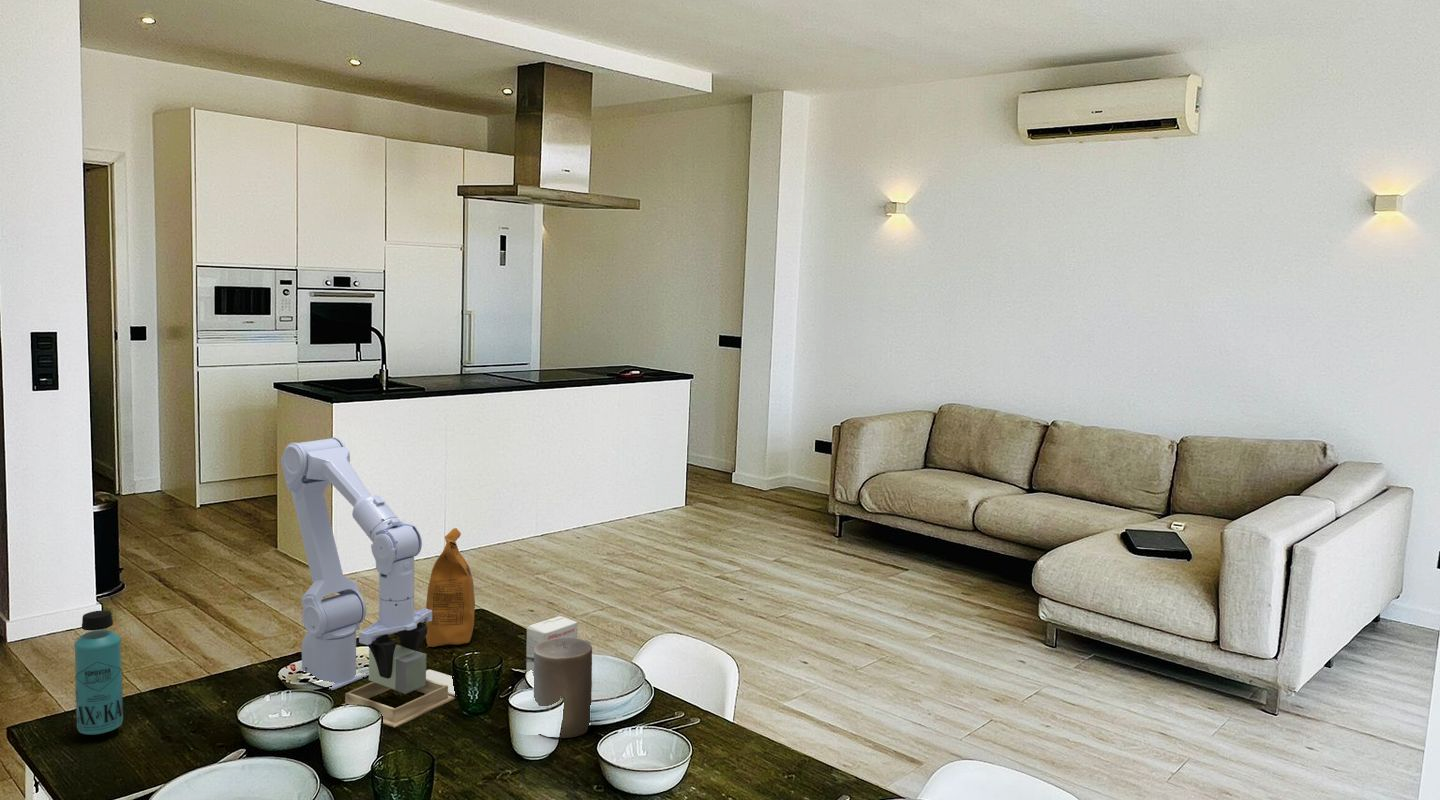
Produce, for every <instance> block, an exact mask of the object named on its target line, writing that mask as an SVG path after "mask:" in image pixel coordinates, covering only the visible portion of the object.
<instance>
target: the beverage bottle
mask: <svg viewBox="0 0 1440 800" xmlns="http://www.w3.org/2000/svg"><path fill="white" fill-rule="evenodd" d="M112 614H113V613H112V612H111V611H109V610H94V611H90V612H87V613H85V614H83V615H82V619H81V629H82V630H84V631H88V632H86V633H84V634H82V635H81V636H80V637H79V638H78V639H77V640H76V641H75V642H74V643H73V645H74V646H73V647H74V663H75V665H74V666H75V667H74V668H75V676H74V678H73V680H74V681H75V684H74V687H75V690H74V695H75V700H74V703H75V711H74V712H75V714H74V716H75V726H76V729H77V731H78V732H79V733H80V734H82V735H100V734H105V733H108V732H112V731H113V730H116V729H117V728H119V727H121V726H122V723H123V722H124V718H125V716H124V715H125V713H124V711H125V710H124V709H125V706H124V696H123V690H124V687H123V673H124V672H123V670H122V649H121V648H122V647H121V646H122V644H121V642H122V638H121V636H120V635H119V634H118V633H116V632H114V631H112V630H109V629H108V628H111V627H112V626H114V622H113V621H114V620H113V616H112Z"/></svg>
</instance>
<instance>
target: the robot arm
mask: <svg viewBox="0 0 1440 800" xmlns="http://www.w3.org/2000/svg"><path fill="white" fill-rule="evenodd" d="M350 454H351V452H350V449H348V447H347V446H346V444H345V443H344V442H343V440H342V439H341V438H339V437H335V436H333V437H330V438H326V439H325V438H324V439H317V440H311V441H310V440H309V441H302V442H290V443H288V444H287V445H286V447H285V448H284V451H283V454H282V456H281V458H280V464H281V467H282V472H283V476H284V481H285V484H286V488H287V491H289V492H290V493H291V497H292V501H293V506H294V510H295V513H296V519H297V522H298V526H299V531H300V534H301V536H300V537H301V538H302V543H303V548H304V553H305V556H306V560H307V564H308V568H309V573H310V577H311V582H312V584H311V585H310V586H309V588H308V589H307V590H306V592H305V593H304V594H303V596H302V597H301V604H302V617H301V618H302V623H303V626H304V629H305V630H306V633H305V635H304V636H303V639H302V642H301V671H302V670H303V671H305V672H307V673H310V674H312V675H313V676H315V677H316V678H317V679H319V680H323V681H329V682H334V683H335V684H333V685H331V686H332V687H329V689H328V690H330V689H331V690H330V691H334V690H338V689H339V688H342V687H345V686H346V685H349V684H352V683H354V682H357V681H359V680H362V679H364V678H366V677H367V676H368V673H367V674H365V675H361V676H356V677H355V675H356V670H357V630H359V631H358V643H360V644H362V645H366V646H367V647H368V649H369V650H371V652H372V654H373V656H374V658H375V661H376V664H377V667H378V671H379V675H380V676H381V677H384V678H387V679H388V678H391V675H392V661H393V655H394V650H395V647H396V645H398V642H397V641H395V640H391V637H389V636H390V635H393V634H396V633H398V637H399V642H400V646H402V647H405V648H408V649H411V650H414V651H418V652H419V650H420V647H421V645H422V643H423V640H424V639H425V638H426V634H427V627H426V625H423V623H426V622H430V621H432V610H428V609H426V608H421V609H418V610H415V557H417V556H418V555H419V554H420V552H421V550H422V547H423V540H422V536H421V533H420V531H419V530H418V528H417V526H416V525H415V524H412V523H408V522H406V521H405V520H401V519H400V518H399V517H398V516H397V515H396V514H395V512H394V510H392V509H391V507H390V506H389V505H388V504H387V502H386V500H384V498H383V497H382V496H380V495H377V494H374V495H371V493H370V491H369V490H368V489H367V487H366V486H365V484H364V482H363V481H362V480H361V478H360V477H359V475H358V474H357V472H356V471H355V469H354V468H353V466H352V464H351V463H350V462H351V455H350ZM330 484H331V485H332V486H333V487H334V488H335V489H336V490H337V491H338V492H339V493H340V494H341V495H342V497H344V498H345V500H346V501H348V503H349V504H350V505H352V506H351V507H353V509H352V512H351V513H352V518H353V520H354V521H356V523H357V524H358V526H359V527H360V528H361V530H362V531H363V532H364V533H365V534H366V536H367V537H368V538H369V540H370V541H371V542H372V543H371V544H370V548H371V553H372V555H373V557H374V560H375V569H376V571H377V573H378V578H379V579H378V581H379V582H378V584H379V586H378V587H379V588H378V589H379V592H378V595H379V597H378V600H379V602H378V605H379V609H378V612H379V614H378V616H379V620H377V621H375V622H374V623H372V624H371V625H370V626H368V627H366V628H365V629H363V630H360V627H361V625H360V624H361V623H363V622H364V621H365V619H366V615H367V604H366V601H365V598H364V596H362V594H361V592H360V589H359V586H358V583H357V582H356V581H354V580H352V579H350V578H349V577H347V576H345V575H344V574H343V569H342V564H341V562H340V557H339V553H338V549H337V544H336V540H335V539H336V538H335V536H334V531H333V527H332V523H331V519H330V515H329V511H328V510H329V509H328V507H327V503H326V499H325V491H326V489H327V488H328V486H329V485H330ZM333 594H337V595H333ZM329 595H332V596H329ZM326 596H329V597H327V598H324V597H326ZM366 675H367V676H366ZM363 677H364V678H363Z"/></svg>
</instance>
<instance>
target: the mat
mask: <svg viewBox="0 0 1440 800" xmlns="http://www.w3.org/2000/svg"><path fill="white" fill-rule="evenodd" d="M426 679H428V680H431V681H434V682H437V683H440V684H444V685H447V686H448V695H449V696H452V697H455V691H454V686H453V679H452V675H449V674H447V673H443V672H440V671H436V670H432V669H426Z"/></svg>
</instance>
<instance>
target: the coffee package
mask: <svg viewBox="0 0 1440 800" xmlns="http://www.w3.org/2000/svg"><path fill="white" fill-rule="evenodd" d="M461 534H462V533H461V531H459V529H458V528H456V527H455V528H454V527H453V528H452V529H451V530H450V532H448V533H447V534H446V535H445V536H444V539H445V546H444V548H443V550H442V552H441V553H440V554H439V556H438V558H437V559H436V560H435V562H434V565H433V567H432V569H431V573H430V578H429V581H428V582H429V583H428V586H427V595H426V603H425V604H426V608H425V609H428V610H432V621H430V622H425V627H427V634H426V636H425V638H426V639H425V640H426V644H427V646H428V647H430V648H431V647H432V648H434V647H438V646H439V647H440V646H448V645H456V646H457V645H462V644H468V643H470V641H471V639H472V636H473V631H474V627H475V614H476V613H475V611H476V602H475V601H476V600H475V586H474V578H473V574H472V572H471V569H470V566H469V564H468V562H467V561H466V559H465V558H464V556H463V555H462V554H461V553H460V550H459V547H458V545H457V542H456V541H458V539H459V538H460V537H461V536H462V535H461Z"/></svg>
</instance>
